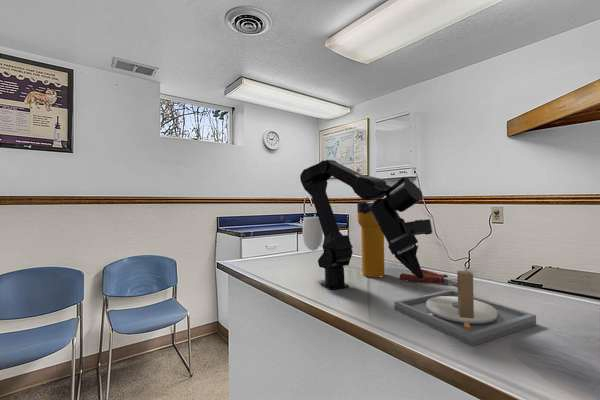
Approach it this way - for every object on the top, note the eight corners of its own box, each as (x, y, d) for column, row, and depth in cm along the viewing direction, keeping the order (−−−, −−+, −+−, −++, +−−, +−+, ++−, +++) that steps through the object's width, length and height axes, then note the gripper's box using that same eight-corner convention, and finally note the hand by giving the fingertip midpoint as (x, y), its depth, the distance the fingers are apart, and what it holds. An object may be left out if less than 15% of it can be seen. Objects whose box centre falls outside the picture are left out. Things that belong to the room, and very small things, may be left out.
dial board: (394, 309, 72) (394, 301, 72) (451, 296, 80) (451, 289, 80) (473, 346, 53) (472, 335, 53) (536, 324, 62) (536, 315, 62)
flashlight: (355, 201, 109) (382, 201, 109) (356, 271, 109) (383, 271, 109) (360, 201, 99) (390, 201, 99) (361, 278, 99) (391, 278, 99)
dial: (423, 298, 75) (422, 259, 75) (485, 302, 71) (485, 261, 71) (430, 319, 62) (429, 272, 62) (507, 327, 58) (506, 276, 58)
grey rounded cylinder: (300, 274, 106) (298, 217, 106) (317, 272, 109) (316, 216, 109) (309, 279, 100) (307, 218, 100) (327, 276, 103) (326, 217, 103)
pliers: (465, 293, 84) (465, 284, 84) (398, 281, 98) (398, 273, 98) (476, 285, 92) (476, 276, 92) (413, 274, 106) (413, 267, 106)
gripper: (419, 197, 66) (460, 263, 60) (417, 212, 83) (449, 263, 77) (374, 221, 68) (409, 285, 63) (381, 230, 85) (409, 281, 80)
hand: (421, 278), depth 70 cm, fingers closed
